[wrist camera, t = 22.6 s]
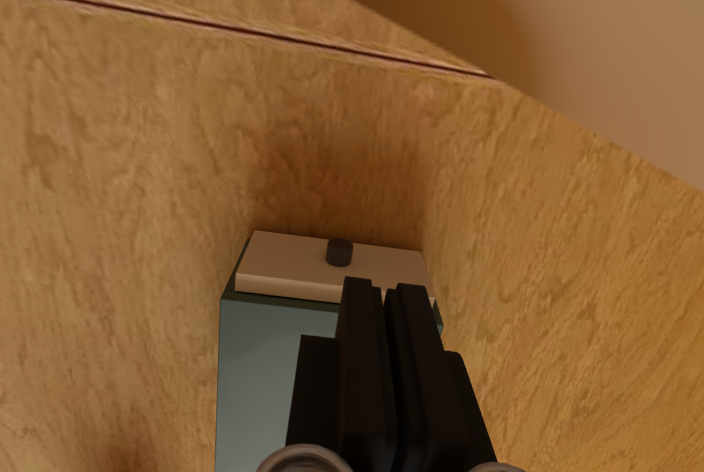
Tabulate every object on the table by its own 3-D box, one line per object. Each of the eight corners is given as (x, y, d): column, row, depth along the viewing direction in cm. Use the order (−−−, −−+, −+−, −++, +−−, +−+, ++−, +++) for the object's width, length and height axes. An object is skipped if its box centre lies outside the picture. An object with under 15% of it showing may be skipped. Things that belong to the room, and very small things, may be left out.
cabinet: (247, 238, 32) (219, 298, 25) (423, 261, 33) (444, 325, 26) (237, 395, 38) (214, 478, 31) (387, 411, 39) (395, 494, 32)
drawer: (255, 213, 30) (236, 253, 25) (424, 235, 31) (440, 279, 26) (244, 383, 36) (227, 444, 31) (385, 398, 37) (392, 460, 32)
